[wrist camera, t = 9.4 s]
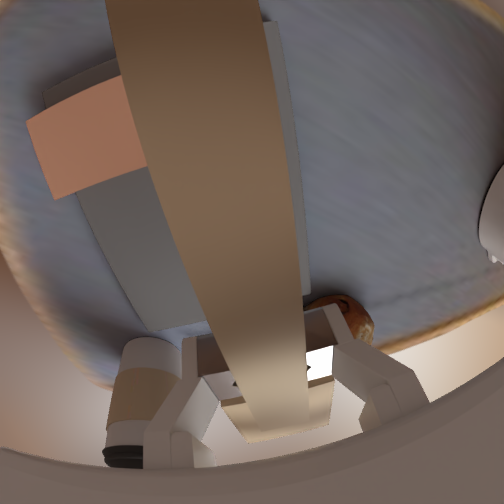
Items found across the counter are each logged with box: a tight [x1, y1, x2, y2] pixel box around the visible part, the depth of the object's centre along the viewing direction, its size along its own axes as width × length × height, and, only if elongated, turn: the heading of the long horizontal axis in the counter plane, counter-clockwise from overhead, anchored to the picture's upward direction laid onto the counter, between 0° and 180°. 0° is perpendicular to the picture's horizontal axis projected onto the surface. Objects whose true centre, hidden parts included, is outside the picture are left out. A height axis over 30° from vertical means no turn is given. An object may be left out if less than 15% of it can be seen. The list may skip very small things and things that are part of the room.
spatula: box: [105, 0, 335, 444], centre depth 10 cm, size 23×6×2 cm, turn 10°
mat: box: [42, 21, 311, 332], centre depth 20 cm, size 16×23×1 cm
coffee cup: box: [102, 337, 182, 469], centre depth 24 cm, size 9×9×15 cm
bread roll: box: [303, 295, 374, 345], centre depth 30 cm, size 10×10×8 cm
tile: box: [26, 75, 148, 200], centre depth 15 cm, size 2×6×8 cm
